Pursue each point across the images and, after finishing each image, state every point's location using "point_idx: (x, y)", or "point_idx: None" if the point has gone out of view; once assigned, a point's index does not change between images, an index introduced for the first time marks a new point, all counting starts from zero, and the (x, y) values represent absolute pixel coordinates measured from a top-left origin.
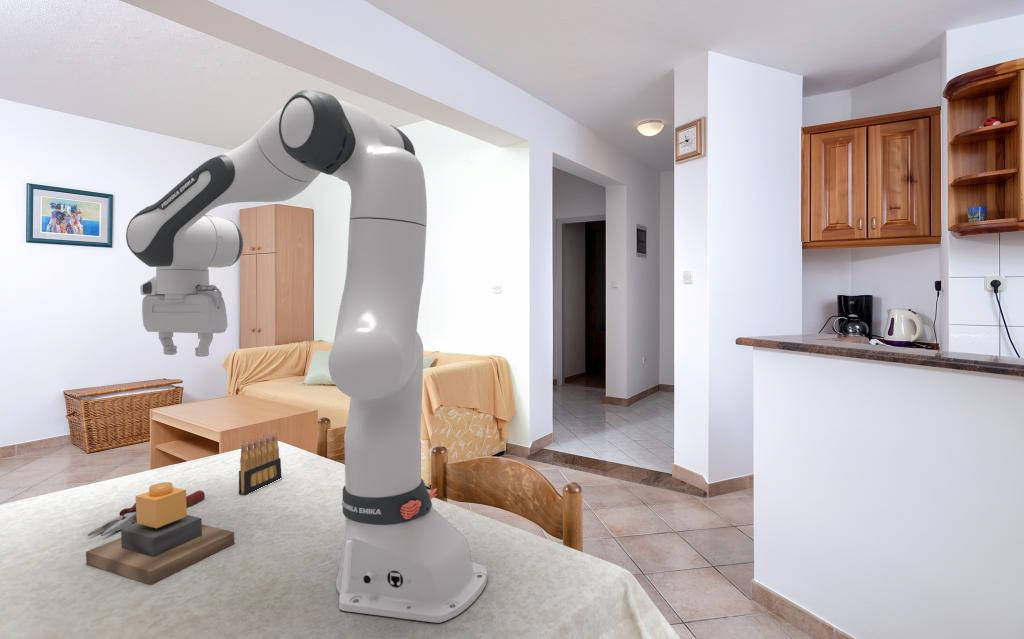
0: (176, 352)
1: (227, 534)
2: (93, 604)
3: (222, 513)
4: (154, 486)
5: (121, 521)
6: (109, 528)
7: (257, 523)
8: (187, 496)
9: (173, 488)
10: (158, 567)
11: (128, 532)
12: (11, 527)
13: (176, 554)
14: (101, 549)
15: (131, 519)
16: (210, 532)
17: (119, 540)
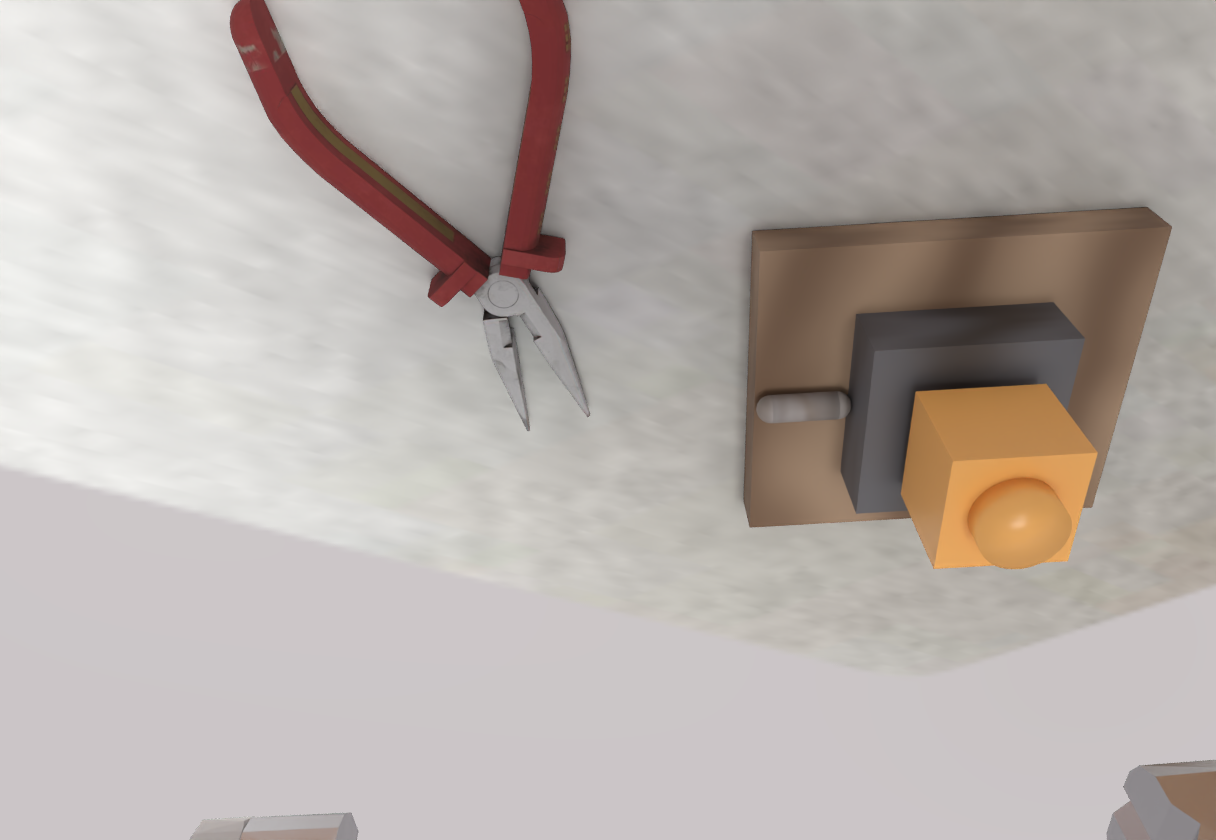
0: (335, 829)
1: (1158, 252)
2: (1003, 578)
3: (825, 13)
4: (1004, 550)
5: (553, 346)
6: (570, 388)
7: (1109, 17)
8: (538, 42)
9: (1019, 465)
10: (1096, 486)
11: (899, 508)
12: (132, 490)
13: (1084, 422)
14: (782, 501)
15: (539, 299)
16: (1068, 271)
17: (769, 448)
